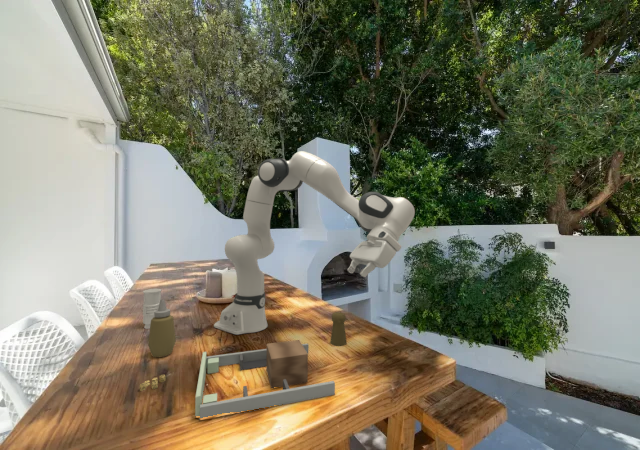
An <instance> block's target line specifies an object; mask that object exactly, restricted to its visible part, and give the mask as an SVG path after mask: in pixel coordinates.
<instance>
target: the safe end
mask: <svg viewBox="0 0 640 450" xmlns="http://www.w3.org/2000/svg"><path fill="white" fill-rule="evenodd" d="M201 356H202V357H201V361H200V368H199V374H198V381H197V386H196V392H195V397H194V398H195V402H194V404H195V408H194V409H195V410H194V411H195V414H194V417H195V416H200V405H202V404H208V403H213V402H218V393H217V392H216V393H211V394H205V395H204V392H203V391H204V390H205V382H206V376H207V374H208V375H209V374H215V373H219V370H220V369H219V367H220V366H219V357H217V358H210V359H208V368H206V358H207V357H208V356H207V351H202V355H201ZM206 373H207V374H206ZM202 399H203V400H202Z"/></svg>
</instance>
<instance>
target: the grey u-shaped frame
mask: <svg viewBox="0 0 640 450" xmlns="http://www.w3.org/2000/svg"><path fill="white" fill-rule="evenodd" d="M301 344H302V345H303V347H304V349H305V350H306V352H307V354H308V355H309V352H310V351H309V348H310V347H309V346H310V345H309V343H301ZM266 356H267V348H262V349H254V350H246V351H240V352H239V351H238V352H233V353H226V354H225V353H224V354H223V353H222V354H218V355H209V356H207V357H206V369H208V359H210V358H217V357H219V367H224V366H230V365H238V364H239V369H240V371H245V370H246V371H247V370H251V369H260V368H266ZM242 390H243V391H242V392H243V393H242V397H235V398H231V399H225V400H220V401H217V402H213V403H208V404H203V403H202V405H200V418H203V417H208V416H213V415H217V414H222V413H230V412H241V411H247V410H254V409H259V408H264V409H266V408H265V407H269V408H271V407H270V406H274V405H279V406H283V405H288V404H294V403H299V402H303V401H304V402H305V401H309V400H315V399H318V398H325V397H330V396H334V395H335V393H336V392H335V391H336V383H335V381H334V380H330V381H326V382H325V381H324V382H319V383H314V384H309V385H303V386H298V387H291V388H290V386H288V383H287V381H286V379H284V380H283V387H282V389H281V390H274V391H271V392H265V393H264V392H263V393H259V394H253V395H249V393H248V385H243V388H242ZM282 404H283V405H282ZM274 407H275V406H274ZM259 410H260V409H259ZM254 411H255V410H254ZM200 418H199V419H200Z"/></svg>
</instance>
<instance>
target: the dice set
mask: <svg viewBox="0 0 640 450" xmlns="http://www.w3.org/2000/svg"><path fill="white" fill-rule="evenodd" d="M165 381H166V375H165V374H161V375H159V379H158V377H153V378H152V379H151V381H150V380H146V381H144V382H142V383H140V384H139V391H140V392H143V390H144V391H145V390H146V389H147V388H148V387H149V386H151V389H152V390H154V389H155V390H156V389H157V388H159V387H158V386H159V383H164V382H165ZM158 382H159V383H158Z"/></svg>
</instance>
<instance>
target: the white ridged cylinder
mask: <svg viewBox="0 0 640 450" xmlns="http://www.w3.org/2000/svg"><path fill="white" fill-rule="evenodd" d="M162 291H163V290H162V288H149V289H144V290H142V293H143V304H142V316H143V317H142V324H144V327H143V328H144V329H146V330H147V329H148V330H150V324H151V320H152V319H153V318H154V312H155V311H156V310H158V308H159V304H160V300H161V299H162Z"/></svg>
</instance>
